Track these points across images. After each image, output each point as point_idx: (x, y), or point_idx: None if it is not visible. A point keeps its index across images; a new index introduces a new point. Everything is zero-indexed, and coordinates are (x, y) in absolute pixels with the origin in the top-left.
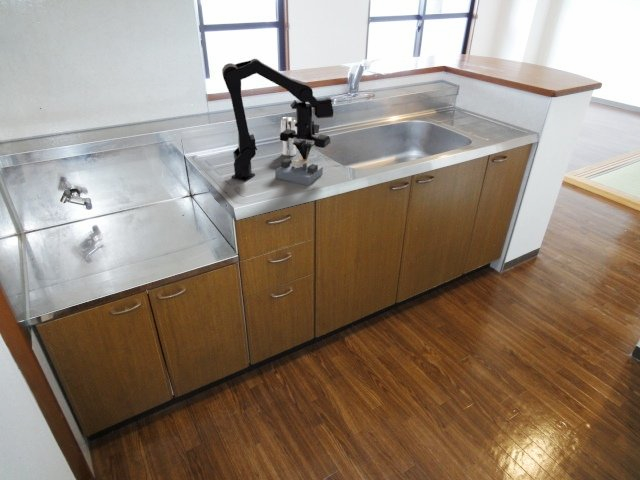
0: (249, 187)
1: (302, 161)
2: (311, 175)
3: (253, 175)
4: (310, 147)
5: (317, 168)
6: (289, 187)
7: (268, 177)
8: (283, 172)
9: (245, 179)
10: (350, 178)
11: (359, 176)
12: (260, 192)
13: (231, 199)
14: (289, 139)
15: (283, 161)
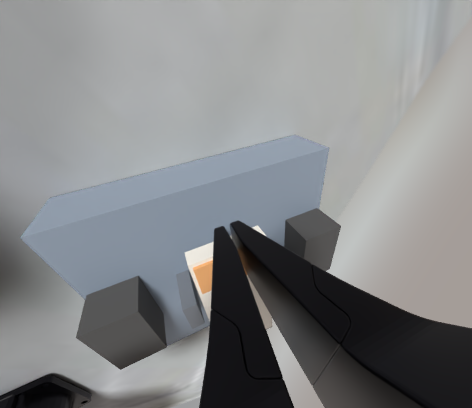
0: (150, 380)
1: (251, 284)
2: None
3: (59, 382)
4: (375, 319)
5: (324, 216)
6: None
7: None
8: (193, 331)
9: (88, 401)
10: (420, 83)
11: (465, 19)
12: (201, 360)
13: (178, 401)
14: None
15: (127, 358)
